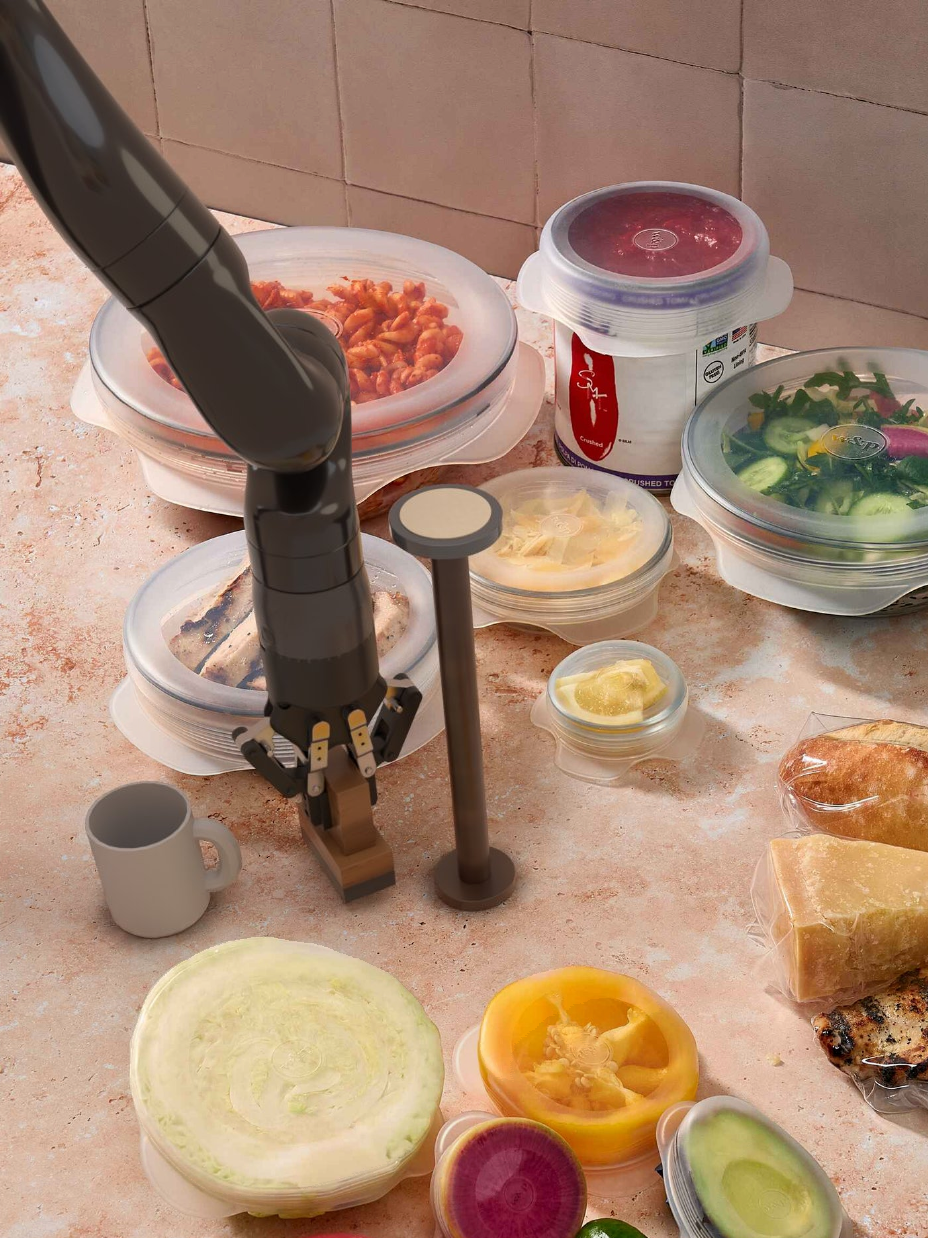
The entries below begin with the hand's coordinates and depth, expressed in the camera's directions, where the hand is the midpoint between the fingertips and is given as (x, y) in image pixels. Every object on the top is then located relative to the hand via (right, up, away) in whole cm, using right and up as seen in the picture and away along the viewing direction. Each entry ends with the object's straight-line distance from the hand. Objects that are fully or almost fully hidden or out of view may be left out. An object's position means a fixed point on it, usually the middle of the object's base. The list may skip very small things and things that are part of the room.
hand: (341, 815), depth 120 cm
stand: (+9, -5, +4) cm, 11 cm away
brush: (0, -3, +3) cm, 5 cm away
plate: (+10, +18, -17) cm, 26 cm away
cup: (-12, -7, +2) cm, 14 cm away
